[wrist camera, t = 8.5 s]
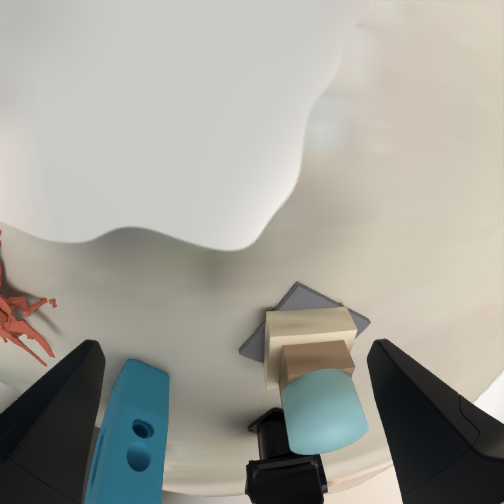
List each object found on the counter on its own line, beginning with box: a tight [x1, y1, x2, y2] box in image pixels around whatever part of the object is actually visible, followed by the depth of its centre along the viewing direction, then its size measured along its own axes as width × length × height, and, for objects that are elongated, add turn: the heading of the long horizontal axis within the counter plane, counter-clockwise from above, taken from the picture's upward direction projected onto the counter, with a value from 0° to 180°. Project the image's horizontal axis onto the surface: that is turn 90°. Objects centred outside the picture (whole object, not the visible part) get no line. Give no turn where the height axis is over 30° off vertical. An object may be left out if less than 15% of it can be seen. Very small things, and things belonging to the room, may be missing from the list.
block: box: [85, 359, 169, 504], centre depth 20 cm, size 12×5×20 cm, turn 146°
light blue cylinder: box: [282, 369, 369, 455], centre depth 18 cm, size 6×6×4 cm
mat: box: [239, 282, 371, 363], centre depth 26 cm, size 9×9×1 cm
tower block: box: [278, 340, 355, 410], centre depth 21 cm, size 5×5×3 cm
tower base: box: [263, 307, 358, 390], centre depth 24 cm, size 7×7×3 cm
